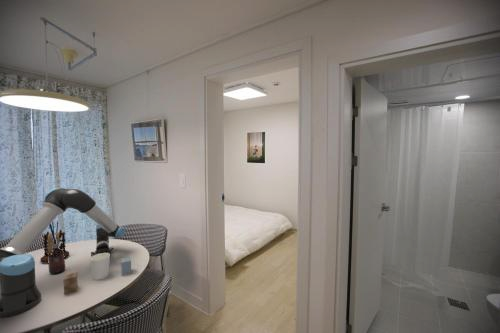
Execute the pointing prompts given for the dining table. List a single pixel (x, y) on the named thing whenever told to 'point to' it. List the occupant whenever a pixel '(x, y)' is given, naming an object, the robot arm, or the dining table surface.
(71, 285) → the walnut block
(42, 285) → the dining table surface
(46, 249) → the brown dark-edged pieces
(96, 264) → the candle holder
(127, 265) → the slate-blue block
